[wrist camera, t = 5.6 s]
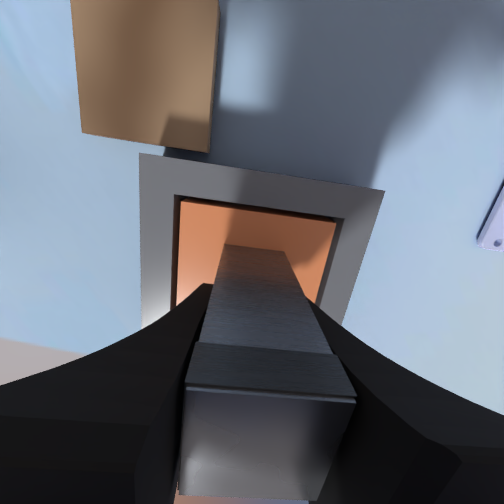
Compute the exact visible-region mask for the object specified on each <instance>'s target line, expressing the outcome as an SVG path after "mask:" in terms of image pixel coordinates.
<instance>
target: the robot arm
mask: <svg viewBox="0 0 504 504" xmlns="http://www.w3.org/2000/svg"><path fill="white" fill-rule="evenodd" d="M494 242H495V243H494ZM477 245H478V246H479V247H481V248H484V249H488V250H495V251H502V252H504V187H503V189H502V191H501V193H500V195H499V197H498V199H497V201H496V203H495V205H494V207H493V209H492V211H491V213H490V215H489V217H488V219H487V221H486V223H485V225H484V228H483V230H482V232H481V234H480V236H479V238H478V240H477ZM213 285H214V284H208V283H202V284H201V285H200V286H199V287H198V288H196V289H195V290H194V291H193V292H192V293H191V294H190V295H189V296H188V297H187V298H185V299H184V300H183V301H182V302H181V303H179V304H178V305H177V306H176V307H174V308H173V309H172V310H170V311H169V312H168V313H166V314H165V315H164V316H162V317H161V318H159V319H158V320H156V321H155V322H153V323H152V324H150V325H148V326H147V327H145V328H143V329H141V330H140V331H138V332H136V333H134V334H132V335H130V336H128V337H126V338H124V339H122V340H120V341H118V342H116V343H114V344H112V345H110V346H108V347H105V348H103V349H101V350H99V351H96V352H94V353H91V354H89V355H87V356H84V357H82V358H79V359H76V360H74V361H71V362H69V363H66V364H63V365H61V366H58V367H56V368H53V369H50V370H47V371H43V372H40V373H37V374H34V375H31V376H29V377H25V378H22V379H19V380H16V381H13V382H10V383H7V384H4V385H1V386H0V504H173V503H174V498H175V493H176V487H177V482H178V475H179V459H180V444H181V429H182V413H183V398H184V383H185V379H186V375H187V372H188V368H189V364H190V361H191V357H192V354H193V350H194V346H195V343H196V342H199V338H200V334H201V331H202V327H203V323H204V319H205V315H206V311H207V308H208V304H209V300H210V296H211V292H212V288H213ZM306 298H307V297H306ZM307 300H308V303H309V305H310V307H311V309H312V311H313V313H314V315H315V317H316V319H317V321H318V324H319V326H320V328H321V330H322V332H323V334H324V336H325V338H326V340H327V342H328V345H329V347H330V349H331V351H332V353H333V354H334V355H337V356H338V358H339V360H340V362H341V364H342V366H343V368H344V370H345V372H346V374H347V376H348V378H349V380H350V382H351V384H352V386H353V388H354V390H355V392H356V394H357V399H356V406H355V408H354V411H353V413H352V416H351V418H350V420H349V423H348V425H347V428H346V430H345V433H344V435H343V438H342V440H341V442H340V445H339V447H338V450H337V452H336V455H335V457H334V460H333V462H332V464H331V467H330V469H329V472H328V474H327V477H326V479H325V482H324V484H323V486H322V489H321V491H320V494H319V496H318V499H317V501H309V504H504V415H501V414H499V413H497V412H494V411H492V410H490V409H487V408H485V407H483V406H480V405H478V404H476V403H473V402H471V401H469V400H467V399H465V398H462V397H460V396H458V395H456V394H454V393H452V392H450V391H448V390H446V389H444V388H442V387H440V386H438V385H436V384H434V383H432V382H430V381H428V380H426V379H424V378H422V377H420V376H418V375H416V374H415V373H413V372H411V371H409V370H407V369H406V368H404V367H402V366H400V365H398V364H397V363H395V362H393V361H392V360H390V359H388V358H387V357H385V356H383V355H382V354H380V353H379V352H377V351H376V350H374V349H373V348H371V347H370V346H368V345H366V344H365V343H364V342H362V341H361V340H359V339H358V338H357V337H355V336H354V335H353V334H351V333H350V332H349V331H347V330H346V329H345V328H343V327H342V326H341V325H339V324H338V323H337V322H336V321H334V320H333V319H332V318H331V317H330V316H328V315H327V314H326V313H325V312H324V311H323V310H321V309H320V308H319V307H318V306H317V305H316V304H314V303H313V302H312V301H311V300H310V299H308V298H307Z"/></svg>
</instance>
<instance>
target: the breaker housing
mask: <svg viewBox="0 0 504 504" xmlns="http://www.w3.org/2000/svg"><path fill="white" fill-rule="evenodd" d="M139 189H140V256H141V324H142V329H143V328H145V327H147V326H148V325H150V324H152V323H153V322H155V321H156V320H158V319H159V318H161V317H162V316H164V315H165V314H166V313H168V312H169V311H170V310H172V309H173V308H174V307H176V303H177V280H178V257H179V234H180V211H181V201H183V200H185V199H186V198H188V196H191V197H198V198H205V199H212V200H219V201H226V202H233V203H240V204H247V205H254V206H261V207H268V208H275V209H282V210H289V211H296V212H303V213H310V214H317V215H323V216H325V217H327V218H328V219H330V220H332V221H333V222H335V223H336V227H335V230H334V234H333V238H332V241H331V245H330V249H329V252H328V256H327V260H326V263H325V267H324V271H323V275H322V278H321V282H320V286H319V289H318V293H317V297H316V300H315V304H316V305H317V306H318V307H319V308H320V309H321V310H323V311H324V312H325V313H326V314H327V315H328V316H330V317H331V318H332V319H333V320H334V321H336V322H337V323H338V324H339V325H341V324H342V321H343V318H344V315H345V312H346V309H347V306H348V303H349V300H350V297H351V294H352V291H353V288H354V285H355V282H356V279H357V276H358V273H359V270H360V266H361V263H362V260H363V257H364V254H365V251H366V248H367V245H368V242H369V239H370V236H371V233H372V230H373V227H374V224H375V221H376V218H377V215H378V212H379V209H380V205H381V202H382V199H383V196H384V193H385V191H383V190H377V189H371V188H365V187H359V186H352V185H346V184H340V183H333V182H327V181H320V180H314V179H307V178H301V177H294V176H288V175H281V174H275V173H268V172H262V171H256V170H249V169H243V168H236V167H230V166H223V165H217V164H210V163H204V162H197V161H191V160H184V159H178V158H172V157H165V156H158V155H151V154H144V153H139Z"/></svg>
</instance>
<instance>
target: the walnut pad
mask: <svg viewBox="0 0 504 504" xmlns="http://www.w3.org/2000/svg"><path fill="white" fill-rule="evenodd" d="M70 3H71V14H72V25H73V37H74V48H75V59H76V71H77V82H78V94H79V105H80V116H81V128H82V133H86V134H91V135H95V136H102V137H108V138H114V139H121V140H127V141H133V142H140V143H146V144H152V145H159V146H165V147H171V148H178V149H184V150H190V151H197V152H203V153H209V152H210V139H211V127H212V114H213V101H214V88H215V76H216V63H217V50H218V38H219V25H220V7H219V1H218V0H70Z"/></svg>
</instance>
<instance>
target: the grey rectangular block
mask: <svg viewBox="0 0 504 504" xmlns="http://www.w3.org/2000/svg"><path fill="white" fill-rule="evenodd" d="M356 399H357V394H356V392H355V390H354V388H353V386H352V384H351V382H350V380H349V378H348V376H347V374H346V372H345V370H344V368H343V366H342V364H341V362H340V360H339V358H338V356H337V355H334V354H333V353H332V351H331V349H330V347H329V345H328V342H327V340H326V338H325V336H324V334H323V332H322V330H321V328H320V326H319V324H318V321H317V319H316V317H315V315H314V313H313V311H312V309H311V307H310V305H309V303H308V300H307V298H306V296H305V294H304V292H303V290H302V288H301V286H300V284H299V282H298V279H297V277H296V275H295V273H294V271H293V269H292V267H291V265H290V263H289V261H288V259H287V256H286V254H285V252H284V251H277V250H269V249H261V248H253V247H246V246H238V245H230V244H224V246H223V250H222V254H221V258H220V262H219V265H218V269H217V273H216V277H215V281H214V285H213V288H212V292H211V296H210V300H209V304H208V308H207V311H206V315H205V319H204V323H203V327H202V331H201V334H200V338H199V342H196V343H195V346H194V350H193V354H192V357H191V361H190V364H189V368H188V372H187V375H186V379H185V383H184V398H183V413H182V429H181V444H180V459H179V475H178V490H179V495H192V496H216V497H239V498H263V499H285V500H287V499H288V500H308V501H317V499H318V496H319V494H320V491H321V489H322V486H323V484H324V482H325V479H326V477H327V474H328V472H329V469H330V467H331V464H332V462H333V460H334V457H335V455H336V452H337V450H338V447H339V445H340V442H341V440H342V438H343V435H344V433H345V430H346V428H347V425H348V423H349V420H350V418H351V416H352V413H353V411H354V408H355V406H356Z"/></svg>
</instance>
